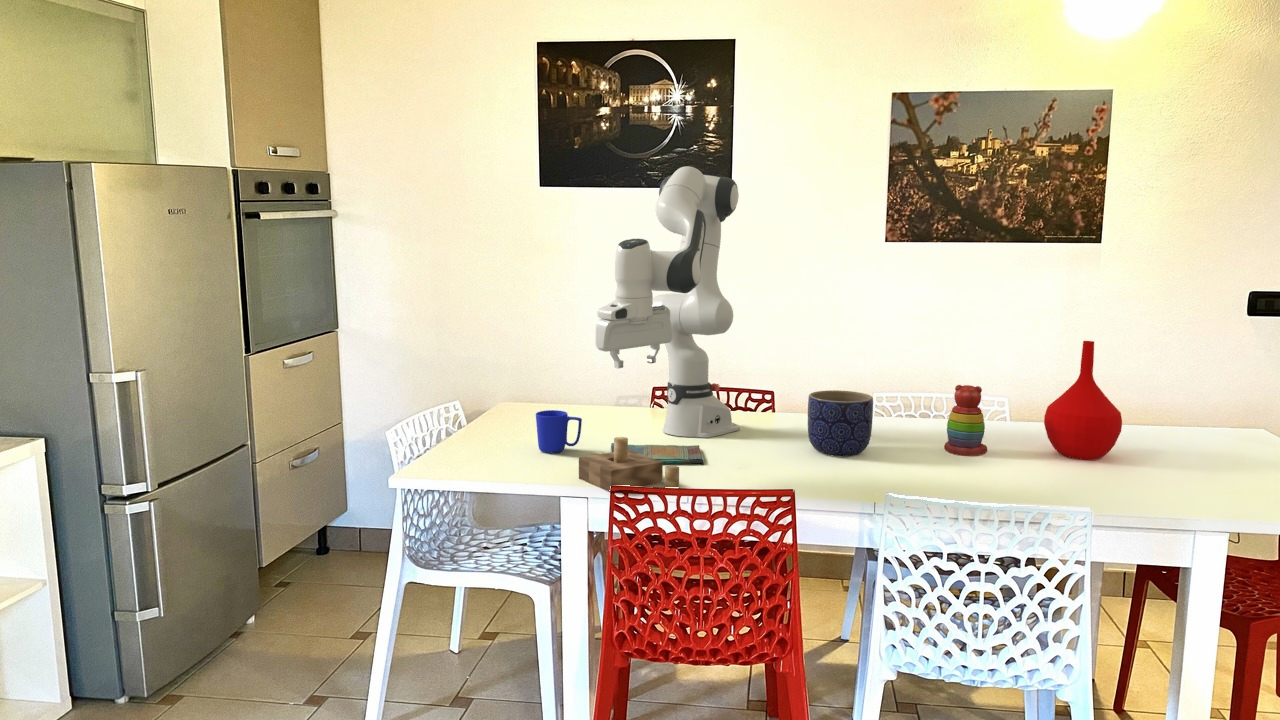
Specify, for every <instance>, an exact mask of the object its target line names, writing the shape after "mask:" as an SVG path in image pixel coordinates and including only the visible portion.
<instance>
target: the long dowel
mask: <svg viewBox="0 0 1280 720" xmlns="http://www.w3.org/2000/svg"><path fill="white" fill-rule="evenodd" d="M613 443H614V462H615V463H623V462H628V445H629V438H628V437H626V436H625V437H624V436H619V437H617V436H615V437H614V438H613Z"/></svg>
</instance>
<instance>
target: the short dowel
mask: <svg viewBox="0 0 1280 720" xmlns="http://www.w3.org/2000/svg"><path fill="white" fill-rule="evenodd" d="M665 487H679V488H680V466H678V465H666V466H665V467H664V488H665Z"/></svg>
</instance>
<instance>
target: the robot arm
mask: <svg viewBox="0 0 1280 720" xmlns="http://www.w3.org/2000/svg"><path fill="white" fill-rule="evenodd" d="M739 194H740V193H739V188H738V184H737V182H735V180H734V179H732V178H730V177H726V176H715V175H709V174H703V173H702V171H700V169H698V168H695V167H694V166H688V165H687V166H681V167H679V168H677V170H675V171H674V172H673V174H672V175H667V176H666V177H665V178H664V179H663V180H662V181H661V183H660V185H659V189H658V197H657V201H656V204H655V214H656V217H657V220H658V221H659V223H660V224H661V226H662V227H664V228H665V229H666V230H667V231H669V232H671V233H673V234H677V235H681V240H680V246H679V250H675V251H671V250H670V251H669V250H667V251H665V250H664V251H663V250H662V251H661V250H658V251H656V250H652V249H651V247H650V241H648V240H646V239H643V238H630V239H625V240H622V241H620V242H619V243H618V245H617V246H616V252H615V261H614V278H615V282H616V292H615V295H614V296H615V300H613V301H612V302H610V303H608V304H606V305H604V306H602V307H599V308H598V309H597V311H596V313H597V317H598V318H599V319H598V321H597V322H596V326H595V346H596V348H597V350H599V351H602V352H606V353H607V352H609V355H610V357H611V358H612V359H613V361H614V368H615V369H617V370H618V369H623V368H624V360H621V359H620V357H619V355H620V353H621V352H620V350H630V349H633V348H634V349H635V348H643V347H648V346H649V347H650V353H649V354H648V355H646V363H647V364H655V363H656V362H657V354H658V353H659V351H660V348H661V346H660V345H663V344H664V346H665V348H666V351H667V357H668V382H667V389H666V390H667V391H666V394H667V401H668V402H667V410H666V415H665V416H666V417H665V421H664V424H663V427H662V432H663V433H664V434H667V435H671V436H675V437H677V436H678V437H690V438H691V437H694V438H695V437H696V438H705V439H707V438H708V439H710V438H713V437H716V436H721V435H724V434H729V433H733V432H737V431H739V430H741V429H740V427H741V426H740V425H738V424H736V423H734V422H733V418H732V412H731V410H730V408H729V407H728V406H727V405H726V404H725V403H724V402H723V401H721V400H720V399H719V398H717V397H716V396H715V395H714V392H715V391H716V392H719V391H720V390H721V385H720V384H718V383H710V382H709V364H710V363H709V360H710V359H709V356H708V354H707V352H706V351H705V350H704V348H701V347H700V346H699V345H698V344H697V343H696V342H695V339H694V336H693V335H700V336H701V335H702V336H715V335H720V334H721V335H722V334H725V333H726V332H728V331H729V329H730V328H731V326H732V324H733V322H734V310H733V307H732V305H731V303H730V301H729V300H727V299H726V297H725V296H724V294H722V292H721V288H720V286H719V283H718V263H719V262H718V261H719V255H720V248H721V247H720V246H721V243H722V242H721V239H722V223H723V222H725V220H726V219H727V218H728V217H730V216H731V215H732V214H733V213H734V211H735V210H736V209H737V205H738V203H739V196H740V195H739ZM653 292H672V293H665V294H664V293H663V294H659V295H658V294H657V295H655V296H653ZM713 391H714V392H713Z"/></svg>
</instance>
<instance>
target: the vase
mask: <svg viewBox="0 0 1280 720" xmlns="http://www.w3.org/2000/svg"><path fill="white" fill-rule="evenodd" d="M1094 356H1095V341H1093V340H1083V341H1082V349H1081V359H1080V368H1079V369H1080V370H1079V375H1078V378H1077V379H1076V381H1075V382H1074V383H1073V384H1072V385H1071V386H1070V387H1068V388H1067V389H1066V390H1065V391H1064V392H1063V393H1062V394H1061V395H1060V396H1059V397H1057V398H1056V399H1055V400H1053V401H1052V402H1051V403H1050V404H1048V405H1047V407H1046V410H1045V414H1044V416H1043V417H1044V418H1043V419H1044V420H1043V423H1044V424H1043V425H1044V429H1045V432H1046V436H1047V439H1048V441H1049V442H1050V445H1052V447H1053V448H1054V450H1055V451H1056V452H1057V453H1058V454H1059V455H1060V456H1063V457H1065V458H1069V459H1072V460H1073V459H1074V460H1082V461H1092V460H1100V459H1102V458H1103V457H1105V456H1106V455H1107V454H1109V453H1110V451H1111V450H1112V449H1113V448H1114V446H1116V443H1117V441H1118V438H1119V437H1120V435H1121V433H1122V429H1123V419H1122V413H1121V411H1120V410H1119V409H1118V408H1117V407H1116V406H1115V405H1114V404H1113V403H1112V401H1111V400H1110V399H1109V398H1108V397H1107V396H1106V395H1105V393H1104V392H1103V390H1102V389H1101V388H1100V387H1099V385H1098V384H1097V383H1096V381H1095V379H1094V363H1095V362H1094V361H1095V360H1094V359H1095V357H1094Z"/></svg>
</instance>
